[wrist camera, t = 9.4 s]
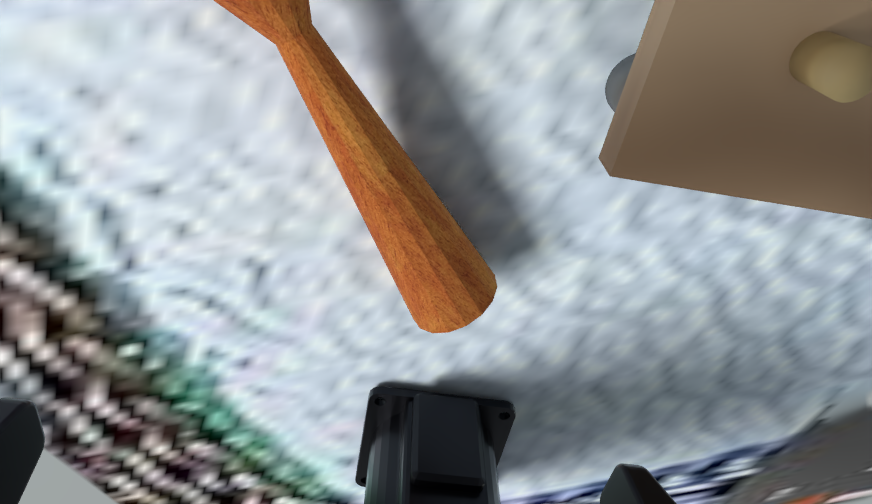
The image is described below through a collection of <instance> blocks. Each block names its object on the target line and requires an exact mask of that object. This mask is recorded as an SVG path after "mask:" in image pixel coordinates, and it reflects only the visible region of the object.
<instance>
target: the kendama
mask: <svg viewBox="0 0 872 504" xmlns="http://www.w3.org/2000/svg"><path fill="white" fill-rule="evenodd" d="M214 1H215V2H217V3H218V4H220V5H221V6H222V7H224V8H225V9H227V10H228V11H229V12H231V13H232V14H234V15H235V16H236V17H238V18H239V19H241V20H242V21H243V22H245V23H246V24H248V25H249V26H250V27H252V28H253V29H255V30H256V31H257V32H259V33H260V34H262V35H263V36H264V37H266V38H267V39H269V40H270V41H272V42H273V43H274V44H276V46H277V48H278V50H279V52H280V54H281V56H282V58H283V60H284V62H285V64H286V66H287V68H288V70H289V72H290V74H291V76H292V78H293V80H294V82H295V84H296V86H297V88H298V90H299V92H300V94H301V96H302V98H303V100H304V102H305V104H306V106H307V108H308V110H309V112H310V114H311V116H312V118H313V120H314V122H315V124H316V126H317V128H318V129H319V131H320V133H321V135H322V137H323V139H324V141H325V143H326V145H327V147H328V149H329V151H330V153H331V155H332V157H333V159H334V161H335V163H336V165H337V167H338V169H339V171H340V173H341V175H342V177H343V179H344V181H345V183H346V185H347V187H348V189H349V191H350V193H351V195H352V197H353V199H354V201H355V203H356V205H357V207H358V209H359V211H360V213H361V215H362V217H363V219H364V221H365V223H366V225H367V227H368V229H369V231H370V233H371V235H372V237H373V239H374V241H375V243H376V245H377V247H378V249H379V251H380V253H381V255H382V257H383V259H384V261H385V263H386V265H387V267H388V269H389V271H390V273H391V275H392V277H393V279H394V281H395V283H396V285H397V287H398V289H399V291H400V293H401V295H402V297H403V299H404V301H405V303H406V305H407V307H408V309H409V311H410V313H411V315H412V317H413V319H414V320H415V322H416V323H417V325H418V326H419V327H420V328H421V329H423V330H426V331H428V332H431V333H445V332H451V331H454V330H456V329H459V328H462V327H464V326H467V325H468V324H470V323H471V322H472V321H474V320H475V319H477V318H478V317H479V316H481V315H482V314H483V313H484V311H485V310H486V309H487V308H488V306H489V305H490V304H491V302H492V301H493V299H494V295H495V292H496V289H497V284H496V279H495V275H494V273H493V272H492V271H491V269H490V268H489V267H488V265H487V264H486V262H485V261H484V260H483V258H482V257H481V256H480V254H479V253H478V251H477V250H476V249H475V247H474V246H473V245H472V243H471V242H470V240H469V239H468V238H467V236H466V235H465V234H464V232H463V231H462V229H461V228H460V227H459V225H458V224H457V223H456V221H455V220H454V218H453V217H452V216H451V214H450V213H449V212H448V210H447V209H446V207H445V206H444V205H443V203H442V202H441V201H440V199H439V198H438V196H437V195H436V194H435V192H434V191H433V190H432V188H431V187H430V185H429V184H428V183H427V181H426V180H425V179H424V177H423V176H422V174H421V173H420V172H419V170H418V169H417V168H416V166H415V165H414V163H413V162H412V161H411V159H410V158H409V157H408V155H407V154H406V152H405V151H404V150H403V148H402V147H401V146H400V144H399V143H398V141H397V140H396V139H395V137H394V136H393V135H392V133H391V132H390V130H389V129H388V128H387V126H386V125H385V124H384V122H383V121H382V119H381V118H380V117H379V115H378V114H377V113H376V111H375V110H374V108H373V107H372V106H371V104H370V103H369V102H368V100H367V99H366V97H365V96H364V95H363V93H362V92H361V91H360V89H359V88H358V86H357V85H356V84H355V82H354V81H353V80H352V78H351V77H350V75H349V74H348V73H347V71H346V70H345V69H344V67H343V66H342V64H341V63H340V62H339V60H338V59H337V58H336V56H335V55H334V53H333V52H332V51H331V49H330V48H329V47H328V45H327V44H326V42H325V41H324V40H323V38H322V37H321V36H320V34H319V33H318V31H317V30H316V29H315V27H314V26H313V25H312V20H311V13H310V5H309V0H214Z"/></svg>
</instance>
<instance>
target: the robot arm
mask: <svg viewBox="0 0 872 504" xmlns="http://www.w3.org/2000/svg"><path fill="white" fill-rule="evenodd" d="M379 398H383V399H379ZM502 412H505V413H502ZM514 419H515V409H514V406H513V404H512V403H510V402H507V401H500V400H491V399H483V398H474V397H466V396H457V395H449V394H440V393H432V392H423V391H415V390H406V389H398V388H389V387H375V388H373V389H372V390H371V391H370V393H369V398H368V404H367V410H366V416H365V422H364V428H363V434H362V440H361V447H360V453H359V459H358V465H357V471H356V479H355V480H356V483H357V484H358V485H360V486H363V487H366V490H365V500H364V504H501V503H500V495H499V486H498V478H497V469H496V468H497V465H498V462H499V460H500V457H501V454H502V452H503V449H504V446H505V443H506V441H507V438H508V435H509V433H510V430H511V427H512V424H513V422H514ZM44 443H45V436H44V431H43V428H42V424H41V421H40V417H39V414H38V410H37V407H36V404H35V403H34V402H33V401H31V400H27V399H18V398H1V399H0V504H18V503H19V501H20V498H21V496H22V494H23V492H24V490H25V488H26V486H27V483H28V481H29V479H30V477H31V474H32V473H33V470H34V468H35V466H36V464H37V462H38V460H39V458H40V455H41V453H42V451H43V447H44ZM600 504H676V502H675V501H674V500H673V499H672V498H671V497H670V496H669V494H668V493H667V492H666V491H665V490H664V489H663V487H662V486H661V485H660V484H659V483H658V482H657V480H656V479H655V478H654V477H653V476H652V475H651V474H650V472H649V471H648V470H647V469H645V468H644V467H642V466H639V465H631V464H619V465H617V466H616V467H615V469H614V471H613V473H612V474H611V476H610V478H609V480H608V482H607V484H606V485H605V487H604V489H603V491H602V493H601V497H600Z"/></svg>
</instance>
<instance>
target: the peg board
mask: <svg viewBox="0 0 872 504" xmlns="http://www.w3.org/2000/svg"><path fill="white" fill-rule="evenodd" d="M605 93H606V99H607V102H608V104H609V105H610V107H611V108H612V109H613V111H614V112H615V114H614V116H613V119H612V122H611V125H610V128H609V130H608V133H607V136H606V139H605V142H604V144H603V147H602V150H601V153H600V156H599V159H600V161H601V163H602V164H603V166H604V167H605V169H606V171H607V172H608V174H609V176H612V177H618V178H624V179H630V180H636V181H642V182H648V183H655V184H661V185H667V186H673V187H679V188H685V189H691V190H698V191H704V192H710V193H716V194H722V195H728V196H734V197H740V198H747V199H753V200H759V201H765V202H771V203H777V204H783V205H790V206H796V207H802V208H808V209H814V210H820V211H826V212H832V213H839V214H845V215H851V216H857V217H863V218H869V219H872V0H655V1H654V4H653V7H652V10H651V13H650V15H649V18H648V21H647V24H646V27H645V29H644V32H643V35H642V38H641V41H640V44H639V46H638V49H637V52H636V54H634V55H631V56H629V57H627V58H625V59H624V60H622V61H621V62H620V63H618V64H617V65H616V66H615V68H614V69H613V70H612V72H611V73H610V75H609V77H608V79H607V83H606V88H605Z"/></svg>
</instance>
